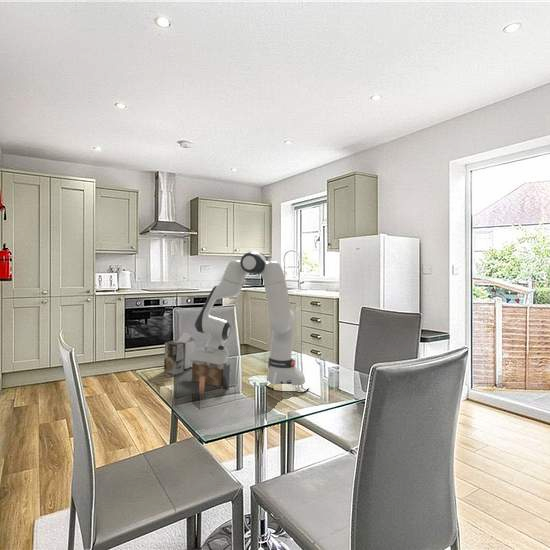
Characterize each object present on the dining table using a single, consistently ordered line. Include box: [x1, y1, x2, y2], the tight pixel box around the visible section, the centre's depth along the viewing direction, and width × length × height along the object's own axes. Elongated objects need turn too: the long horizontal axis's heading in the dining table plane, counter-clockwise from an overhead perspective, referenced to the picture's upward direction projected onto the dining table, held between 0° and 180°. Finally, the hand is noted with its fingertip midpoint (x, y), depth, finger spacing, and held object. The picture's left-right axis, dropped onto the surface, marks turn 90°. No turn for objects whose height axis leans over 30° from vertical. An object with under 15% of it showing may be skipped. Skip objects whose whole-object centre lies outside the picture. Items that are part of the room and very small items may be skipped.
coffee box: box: [163, 340, 185, 375], centre depth 216 cm, size 9×6×16 cm
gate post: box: [221, 362, 231, 390], centre depth 196 cm, size 3×3×12 cm
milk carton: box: [177, 332, 196, 370], centre depth 227 cm, size 7×7×19 cm
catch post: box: [198, 377, 206, 395], centre depth 188 cm, size 2×2×7 cm
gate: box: [191, 362, 223, 388], centre depth 201 cm, size 18×2×9 cm, turn 63°
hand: (202, 371), depth 204 cm, fingers closed
